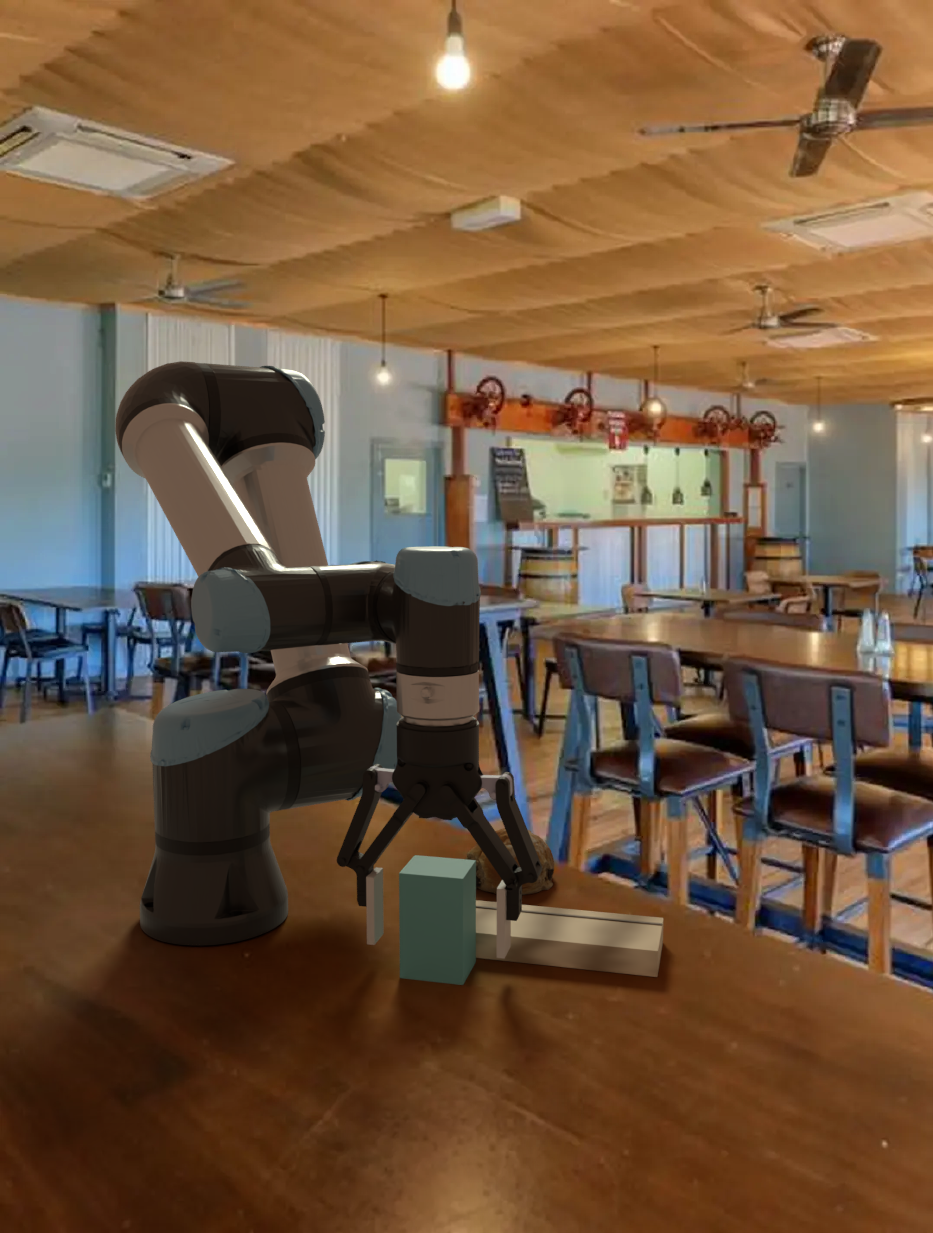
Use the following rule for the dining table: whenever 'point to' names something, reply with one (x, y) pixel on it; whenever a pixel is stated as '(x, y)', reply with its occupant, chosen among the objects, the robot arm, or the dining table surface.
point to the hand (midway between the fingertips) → (438, 945)
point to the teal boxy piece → (437, 919)
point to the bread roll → (490, 878)
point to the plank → (574, 939)
